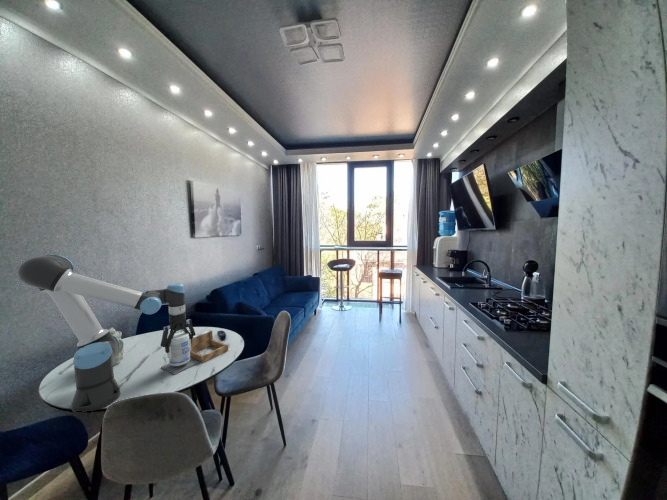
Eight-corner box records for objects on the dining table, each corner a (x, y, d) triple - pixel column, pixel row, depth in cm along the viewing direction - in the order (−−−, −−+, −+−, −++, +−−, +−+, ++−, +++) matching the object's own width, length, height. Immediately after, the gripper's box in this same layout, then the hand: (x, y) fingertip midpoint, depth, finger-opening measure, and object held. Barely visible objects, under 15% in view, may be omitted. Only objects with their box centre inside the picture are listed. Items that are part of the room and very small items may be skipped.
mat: (174, 374, 126) (174, 373, 126) (161, 367, 133) (161, 366, 133) (199, 363, 138) (199, 361, 138) (185, 357, 144) (185, 356, 144)
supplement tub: (186, 365, 131) (185, 338, 130) (166, 368, 129) (164, 340, 128) (192, 356, 141) (191, 331, 140) (173, 358, 139) (172, 332, 137)
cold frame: (202, 363, 138) (201, 346, 137) (185, 355, 146) (184, 339, 145) (228, 350, 152) (227, 335, 151) (211, 344, 160) (210, 329, 159)
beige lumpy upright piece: (104, 373, 128) (101, 338, 126) (81, 370, 131) (78, 335, 129) (136, 357, 144) (133, 325, 143) (114, 355, 147) (112, 324, 146)
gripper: (157, 320, 122) (160, 365, 123) (201, 308, 141) (203, 347, 142) (150, 318, 125) (153, 361, 127) (193, 306, 144) (195, 344, 146)
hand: (179, 353), depth 135 cm, fingers closed on supplement tub, 9 cm apart
